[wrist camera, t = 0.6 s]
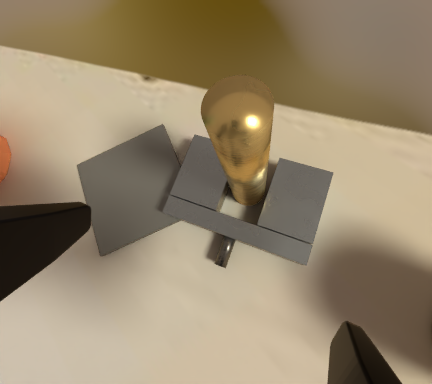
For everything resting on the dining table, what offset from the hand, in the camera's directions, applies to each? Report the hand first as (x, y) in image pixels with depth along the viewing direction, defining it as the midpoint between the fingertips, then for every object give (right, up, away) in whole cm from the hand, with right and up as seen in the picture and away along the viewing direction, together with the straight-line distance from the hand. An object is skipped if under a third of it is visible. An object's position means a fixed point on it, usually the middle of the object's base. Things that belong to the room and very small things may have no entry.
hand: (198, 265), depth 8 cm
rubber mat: (-7, +3, +16) cm, 18 cm away
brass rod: (+4, +3, +14) cm, 15 cm away
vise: (+3, +1, +14) cm, 14 cm away
